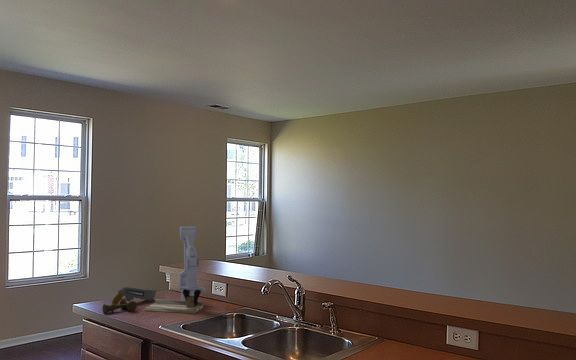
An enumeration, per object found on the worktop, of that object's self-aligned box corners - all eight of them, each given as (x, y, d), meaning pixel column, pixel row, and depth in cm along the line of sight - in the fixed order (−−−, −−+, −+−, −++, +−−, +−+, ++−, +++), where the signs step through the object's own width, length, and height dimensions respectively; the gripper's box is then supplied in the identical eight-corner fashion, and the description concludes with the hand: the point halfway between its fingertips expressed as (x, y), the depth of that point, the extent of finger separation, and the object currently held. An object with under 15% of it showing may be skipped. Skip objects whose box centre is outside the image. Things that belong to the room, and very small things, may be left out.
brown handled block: (189, 305, 270) (190, 295, 271) (196, 305, 270) (196, 295, 270) (182, 309, 261) (182, 299, 261) (189, 309, 260) (190, 299, 260)
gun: (149, 315, 288) (158, 290, 292) (112, 305, 271) (122, 279, 276) (146, 314, 290) (155, 289, 294) (109, 304, 273) (119, 278, 278)
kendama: (99, 313, 259) (135, 306, 273) (107, 316, 252) (143, 310, 266) (99, 301, 259) (135, 295, 273) (107, 305, 252) (143, 299, 266)
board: (155, 305, 276) (156, 299, 276) (203, 308, 271) (203, 301, 271) (145, 310, 263) (145, 304, 263) (194, 313, 258) (194, 306, 258)
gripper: (176, 279, 265) (176, 304, 265) (202, 280, 263) (201, 306, 262) (181, 277, 272) (181, 302, 272) (206, 278, 270) (206, 303, 269)
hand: (191, 303), depth 268 cm, fingers closed on brown handled block, 4 cm apart
